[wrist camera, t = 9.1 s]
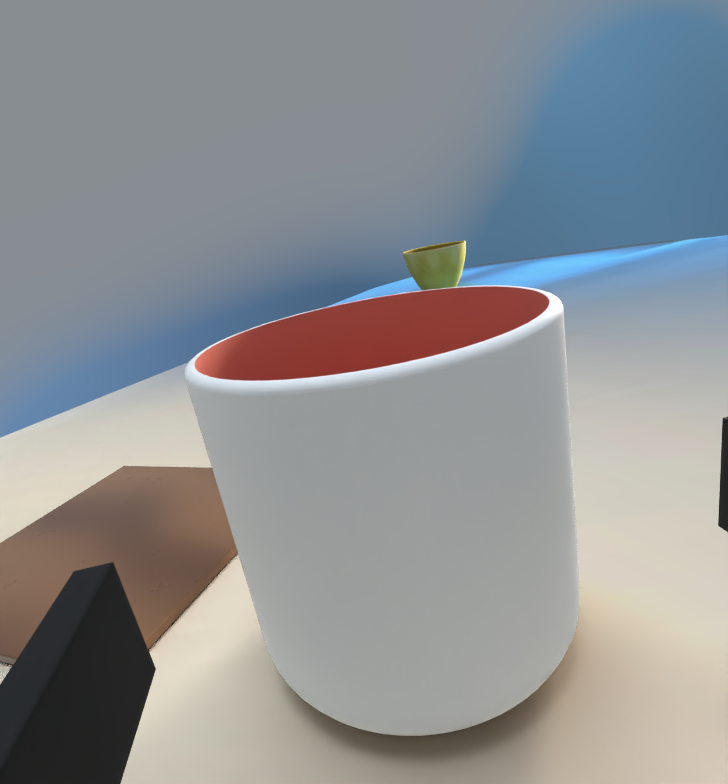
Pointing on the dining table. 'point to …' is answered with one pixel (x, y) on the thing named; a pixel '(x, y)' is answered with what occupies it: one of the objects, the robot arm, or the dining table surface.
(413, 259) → the flower pot
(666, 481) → the dining table surface
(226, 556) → the coaster
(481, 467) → the cup
